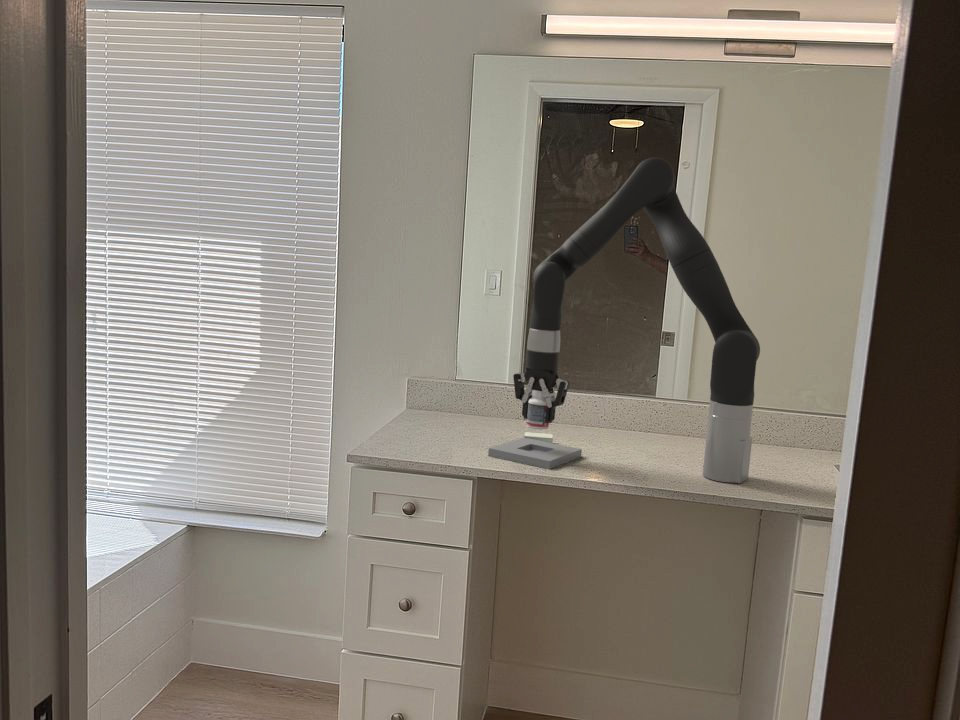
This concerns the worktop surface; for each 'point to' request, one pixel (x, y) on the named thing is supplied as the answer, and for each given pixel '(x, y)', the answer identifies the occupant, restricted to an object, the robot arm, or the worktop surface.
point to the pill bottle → (537, 411)
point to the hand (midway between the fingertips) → (537, 420)
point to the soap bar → (539, 436)
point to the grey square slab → (535, 452)
